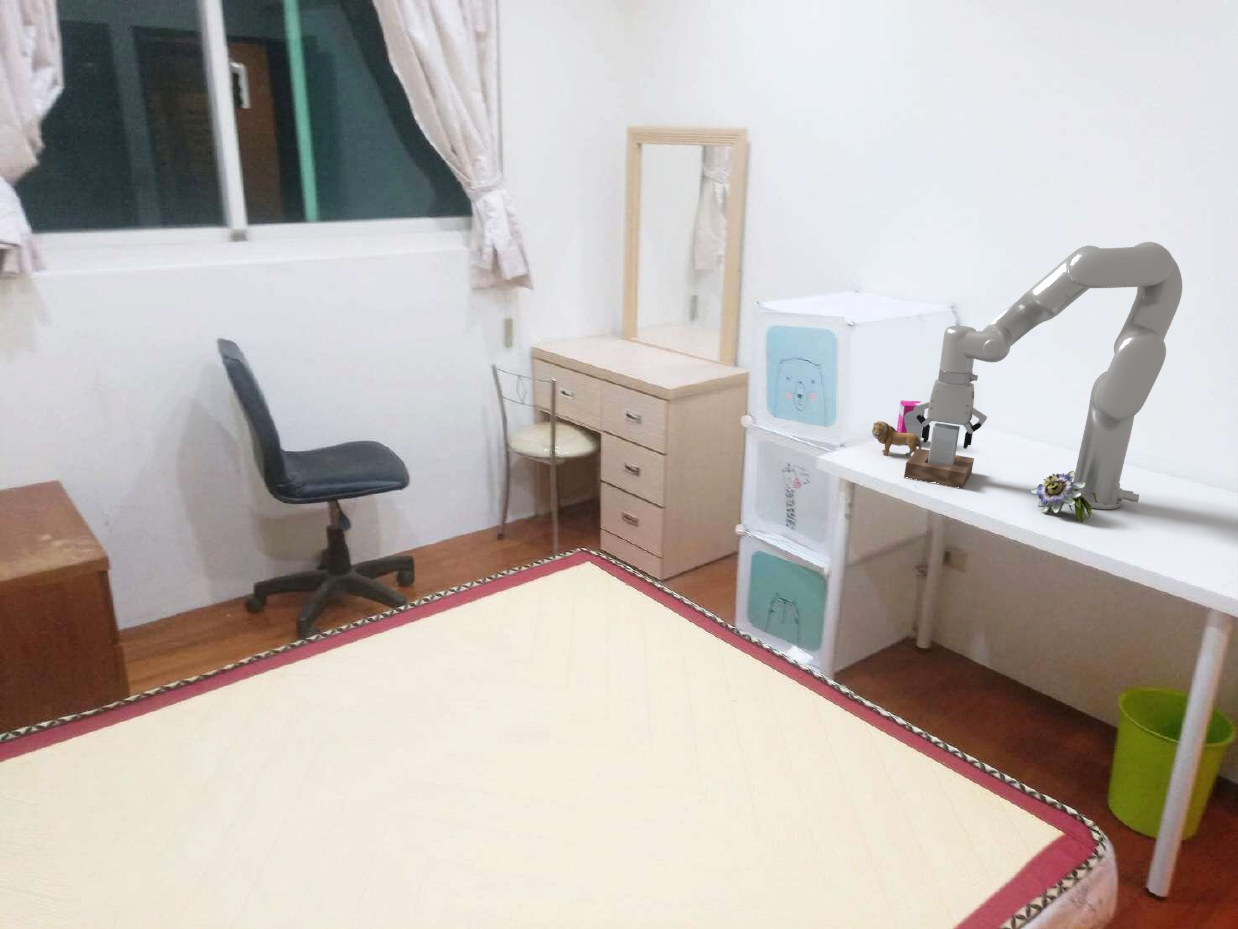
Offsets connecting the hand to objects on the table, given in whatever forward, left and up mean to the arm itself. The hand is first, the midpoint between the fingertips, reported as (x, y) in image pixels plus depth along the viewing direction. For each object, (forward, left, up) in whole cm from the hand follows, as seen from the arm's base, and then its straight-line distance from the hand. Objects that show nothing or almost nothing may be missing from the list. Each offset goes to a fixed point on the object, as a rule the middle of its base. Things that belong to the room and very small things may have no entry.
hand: (945, 444), depth 225 cm
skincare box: (0, 0, -8) cm, 8 cm away
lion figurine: (+14, -10, -9) cm, 19 cm away
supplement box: (+14, -25, -9) cm, 30 cm away
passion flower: (-29, +10, -9) cm, 32 cm away
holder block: (+1, 0, -8) cm, 8 cm away
